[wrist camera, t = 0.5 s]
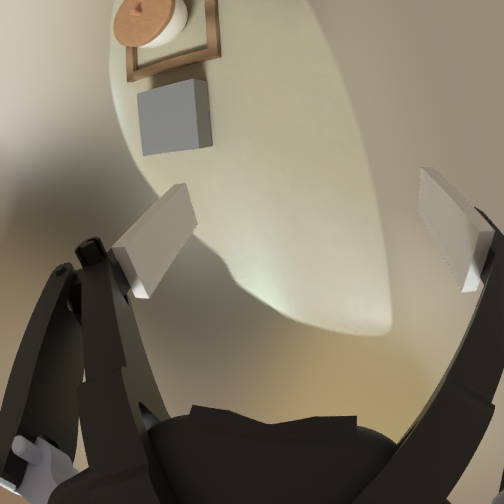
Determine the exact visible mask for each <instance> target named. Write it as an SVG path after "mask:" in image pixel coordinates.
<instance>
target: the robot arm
mask: <svg viewBox="0 0 504 504" xmlns="http://www.w3.org/2000/svg"><path fill="white" fill-rule="evenodd" d="M418 215H419V216H420V218H421V220H422V221H423V222H424V224H425V226H426V227H427V229H428V231H429V232H430V234H431V236H432V238H433V239H434V241H435V243H436V244H437V246H438V248H439V250H440V252H441V253H442V255H443V257H444V259H445V260H446V263H447V264H448V266H449V268H450V270H451V272H452V274H453V276H454V278H455V280H456V282H457V284H458V286H459V288H460V290H461V292H470V291H476V290H477V287H478V284H479V281H480V279H481V280H482V282H483V284H484V288H483V290H482V293H481V295H480V298H479V300H478V303H477V305H476V309H475V311H474V314H473V316H472V319H471V321H470V323H469V326H468V328H467V330H466V332H465V334H464V337H463V339H462V341H461V343H460V345H459V347H458V349H457V351H456V353H455V355H454V357H453V359H452V361H451V363H450V365H449V367H448V368H447V370H446V372H445V374H444V375H443V377H442V379H441V381H440V383H439V384H438V386H437V387H436V389H435V391H434V392H433V394H432V396H431V397H430V399H429V400H428V402H427V404H426V405H425V407H424V408H423V410H422V411H421V413H420V414H419V416H418V417H417V418H416V420H415V421H414V423H413V424H412V425H411V427H410V428H409V429H408V431H407V432H406V433H405V434H404V436H403V437H402V438H401V440H400V441H399V442H398V443H397V444H396V443H394V442H393V441H392V440H390V439H389V438H388V437H386V436H384V435H383V434H381V433H379V432H376V431H374V430H372V429H368V428H365V427H361V426H357V416H335V417H334V416H330V417H317V416H315V417H310V418H305V419H301V420H295V421H289V422H283V423H278V424H265V423H262V422H259V421H256V420H253V419H250V418H248V417H245V416H242V415H240V414H237V413H234V412H231V411H229V410H221V409H215V408H208V407H202V406H197V405H192V408H191V411H190V414H189V415H182V416H177V417H174V418H171V417H170V416H169V414H168V412H167V410H166V408H165V405H164V403H163V400H162V397H161V395H160V392H159V390H158V387H157V384H156V382H155V379H154V376H153V373H152V370H151V368H150V365H149V362H148V359H147V356H146V353H145V349H144V346H143V343H142V340H141V337H140V333H139V330H138V327H137V323H136V320H135V316H134V312H133V308H132V305H131V301H130V299H129V296H128V295H127V292H128V291H129V289H130V288H131V289H132V291H133V293H134V295H135V297H136V298H150V296H151V295H152V293H153V291H154V290H155V288H156V287H157V285H158V284H159V282H160V280H161V279H162V277H163V276H164V274H165V273H166V271H167V270H168V268H169V266H170V265H171V263H172V262H173V260H174V259H175V257H176V256H177V254H178V253H179V251H180V250H181V248H182V246H183V245H184V244H185V242H186V241H187V239H188V238H189V236H190V235H191V233H192V232H193V231H194V229H195V228H196V226H197V225H198V224H197V220H196V217H195V213H194V210H193V206H192V203H191V199H190V196H189V192H188V189H187V185H186V183H183V184H176V185H174V186H173V187H172V188H170V189H169V190H168V191H167V192H166V193H165V194H164V195H163V196H162V197H161V198H160V199H159V200H158V201H157V202H156V203H155V204H154V205H153V206H151V207H150V208H149V209H148V210H147V211H146V212H145V213H144V214H143V215H142V216H141V217H140V218H139V219H138V220H137V221H136V222H135V223H134V224H133V225H132V226H131V227H130V228H129V229H128V231H126V233H124V235H123V236H122V237H121V238H120V239H119V240H118V241H117V242H116V243H115V244H114V245H113V246H112V247H111V249H110V250H109V251H108V252H107V253H106V251H105V249H104V247H103V244H102V242H101V240H100V238H99V237H93V238H90V239H87V240H86V241H84V242H82V243H81V244H80V245H78V247H77V248H76V249H75V253H76V255H77V257H78V259H79V261H80V263H81V265H82V269H79V270H76V271H75V270H74V267H73V266H72V264H71V263H64V264H61V265H59V266H57V267H56V269H55V270H54V271H53V272H52V274H51V275H50V277H49V279H48V281H47V283H46V285H45V287H44V289H43V291H42V293H41V296H40V298H39V300H38V302H37V304H36V307H35V309H34V311H33V313H32V316H31V318H30V321H29V323H28V325H27V328H26V330H25V333H24V336H23V338H22V341H21V344H20V347H19V349H18V352H17V355H16V358H15V361H14V364H13V367H12V370H11V374H10V377H9V380H8V384H7V387H6V391H5V395H4V399H3V403H2V407H1V411H0V486H2V487H4V488H6V489H8V490H10V491H11V492H14V493H16V494H18V495H20V496H22V497H24V498H25V499H26V500H27V501H29V502H30V503H31V504H451V503H450V502H449V501H448V500H447V499H446V498H447V497H448V495H449V494H450V492H451V491H452V489H453V488H454V486H455V485H456V483H457V482H458V480H459V479H460V477H461V475H462V474H463V472H464V471H465V469H466V467H467V466H468V464H469V462H470V460H471V459H472V457H473V455H474V453H475V451H476V450H477V448H478V446H479V444H480V442H481V440H482V438H483V436H484V433H485V432H486V430H487V428H488V425H489V423H490V421H491V418H492V416H493V413H494V410H495V405H493V404H492V399H493V396H494V394H495V391H496V389H497V386H498V384H499V381H500V378H501V375H502V372H503V369H504V235H503V234H502V233H501V232H500V230H499V229H498V228H497V227H496V226H495V225H494V224H493V223H492V221H491V220H490V219H488V217H487V216H486V215H485V214H484V213H483V212H482V211H480V210H479V209H478V208H476V207H473V206H472V205H471V204H470V203H469V202H468V201H467V199H466V198H465V197H464V196H463V195H462V194H460V192H458V191H457V189H456V188H455V187H453V186H452V185H451V184H450V183H449V182H448V181H447V180H446V179H445V178H444V177H443V176H442V175H441V174H440V173H438V172H437V171H436V170H435V169H434V168H426V167H422V168H421V179H420V194H419V205H418ZM68 307H69V308H68ZM69 309H70V310H69ZM84 368H85V377H86V382H84V383H82V382H83V375H84ZM79 418H80V425H81V431H82V436H83V442H84V447H85V452H86V456H87V460H88V465H89V468H87V469H85V470H83V471H82V472H80V473H79V471H78V470H77V469H75V468H73V462H74V458H75V453H76V447H77V436H78V421H79ZM491 504H504V470H503V475H502V480H501V485H500V490H499V494H498V495H497V496H496V497H495V498H494V499H493V501H492V503H491Z"/></svg>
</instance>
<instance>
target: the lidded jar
mask: <svg viewBox="0 0 504 504" xmlns="http://www.w3.org/2000/svg"><path fill="white" fill-rule="evenodd" d="M187 16H188V12H187V8H186V5H185V3H184V1H183V0H125V1H124V2H123V3H122V5H121V6H120V8H119V10H118V12H117V14H116V17H115V20H114V27H113V28H114V35H115V37H116V39H117V41H118V42H119V43H120V44H122V45H124V46H128V47H138V48H156V47H159V46H163V45H165V44H167V43H169V42H171V41H172V40H174V39H175V38H176V37H177V36H178V35H179V34H180V33H181V32H182V31H183V29H184V27H185V25H186V22H187Z"/></svg>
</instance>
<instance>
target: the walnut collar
mask: <svg viewBox="0 0 504 504" xmlns="http://www.w3.org/2000/svg"><path fill="white" fill-rule="evenodd" d="M205 15H206V33H207V49H204V50H200V51H196V52H193V53H189V54H185V55H182V56H178V57H175V58H171V59H168V60H165V61H162V62H159V63H156V64H153V65H150V66H147V67H144V68H142V69H139V70H138V68H137V47H128V46H126V70H127V82H134V81H137V80H140V79H142V78H145V77H148V76H151V75H154V74H158V73H161V72H164V71H167V70H171V69H174V68H178V67H182V66H185V65H189V64H193V63H197V62H202V61H206V60H210V59H215V58H220V57H221V47H220V32H219V17H218V1H217V0H205Z"/></svg>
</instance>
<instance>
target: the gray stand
mask: <svg viewBox="0 0 504 504" xmlns="http://www.w3.org/2000/svg"><path fill="white" fill-rule="evenodd" d="M137 100H138V112H139V123H140V133H141V142H142V151H143V156H146V155H153V154H159V153H166V152H174V151H182V150H190V149H199V148H204V147H210V146H213V145H212V134H211V123H210V111H209V99H208V86H207V81H202V80H198V79H189V80H185V81H181V82H177V83H173V84H169V85H165V86H162V87H158V88H155V89H151V90H148V91H145V92H142V93H139V94H137Z"/></svg>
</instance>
